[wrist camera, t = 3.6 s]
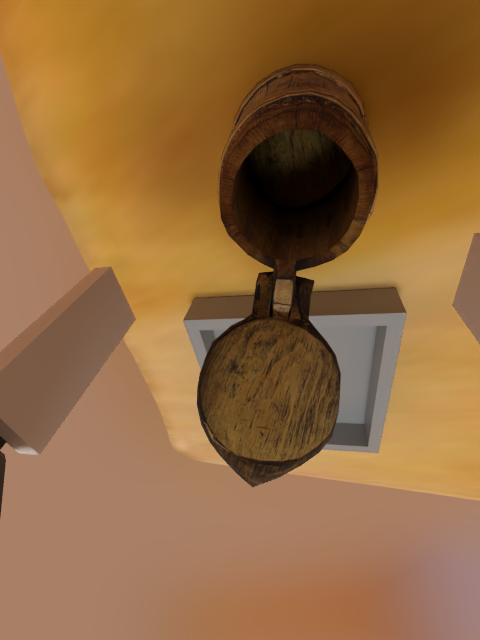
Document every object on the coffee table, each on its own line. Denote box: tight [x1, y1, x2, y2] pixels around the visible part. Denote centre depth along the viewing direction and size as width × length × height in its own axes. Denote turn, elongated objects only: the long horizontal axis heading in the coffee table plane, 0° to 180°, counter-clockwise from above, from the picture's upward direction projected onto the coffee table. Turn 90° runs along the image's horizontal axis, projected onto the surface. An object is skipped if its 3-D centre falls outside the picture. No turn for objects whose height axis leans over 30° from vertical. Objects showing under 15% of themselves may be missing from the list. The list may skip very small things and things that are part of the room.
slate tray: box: [183, 288, 406, 453], centre depth 32 cm, size 20×18×4 cm
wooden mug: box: [197, 64, 378, 487], centre depth 15 cm, size 9×14×18 cm, turn 178°
